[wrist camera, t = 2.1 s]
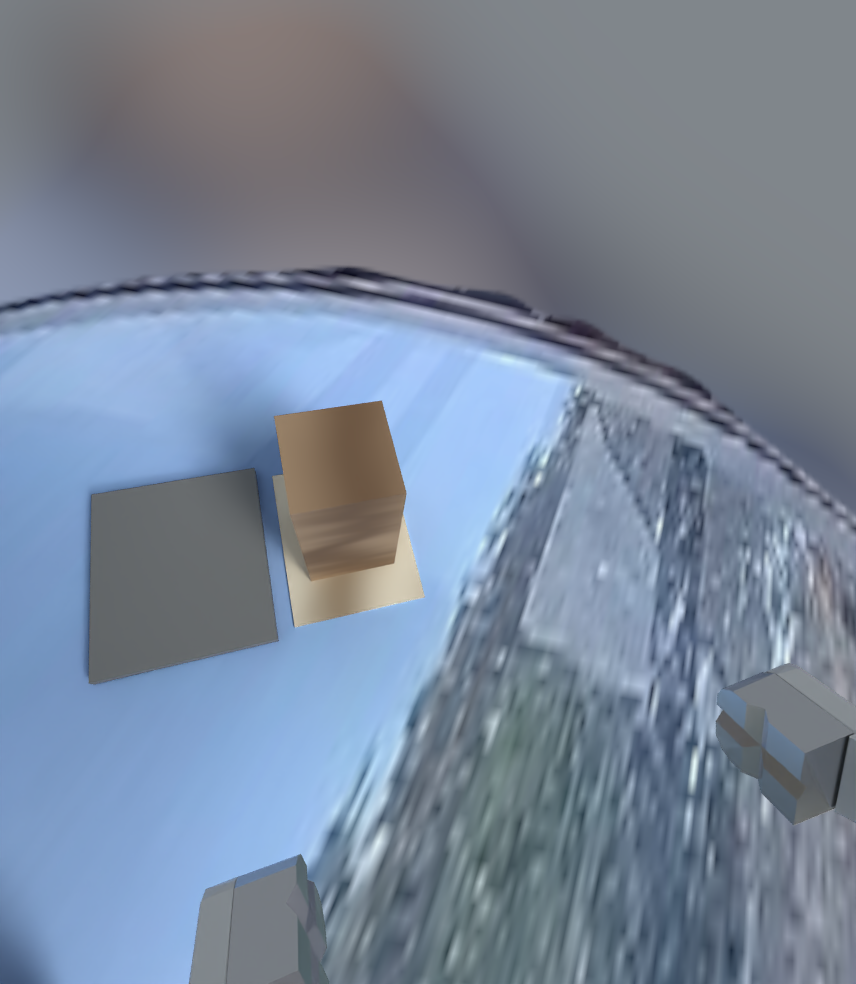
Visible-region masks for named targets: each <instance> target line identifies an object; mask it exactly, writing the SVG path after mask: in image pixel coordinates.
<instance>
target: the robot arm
mask: <svg viewBox="0 0 856 984" xmlns="http://www.w3.org/2000/svg"><path fill="white" fill-rule="evenodd" d="M717 705H718V706H719V707H720V708H721V709H722V710H723V711H722V712H721V714H720V715H719V717H718V719H717V720H716V736H717V738H718V741H719V743H720V745H721V748H722V750H723V751H724V752H725V754H726V755H727V757H728V758H729V760H730V761H731V762H732V763H733V764H734V765H735V766H736V767H737V768H738V769H739V770H740V771H741V772H743V773H745V774H748V775H750V776H752V777H755V778H757V779H758V782H759V786H760V790H761V793H762V794H763V795H764V796H765V797H766V798H767V799H768V800H769V801H770V802H771V803H772V804H773V805H774V806H775V807H776V808H777V809H778V810H779V811H780V812H781V813H782V814H783V815H784V816H785V817H786V818H787V819H788V820H789V821H790V822H791V823H792V824H793V825H796V824H799V823H801V822H803V821H806V820H808V819H811V818H813V817H815V816H818V815H820V814H823V813H825V812H828V811H830V810H832V809H835V812H836V813H838V814H840V815H842V816H844V817H846V818H848V819H850V820H851V821H853V822H855V823H856V706H854V705H853V704H851V703H850V702H849V701H847V700H846V699H844V698H843V697H842V696H840V695H839V694H837V693H836V692H834V691H833V690H832V689H830V688H829V687H827V686H826V685H824V684H823V683H822V682H820V681H819V680H817V679H816V678H814V677H813V676H812V675H810V674H809V673H807V672H806V671H804V670H803V669H802V668H800V667H798V666H796V665H793V664H790V663H788V664H784V665H781V666H779V667H776V668H774V669H772V670H769V671H767V672H762V673H759V674H757V675H754V676H752V677H750V678H747V679H745V680H742V681H740V682H737V683H735V684H733V685H730V686H728V687H725V688H723V689H721V691H720V692H719V693H718V695H717ZM326 948H327V943H326V931H325V922H324V916H323V910H322V904H321V901H320V897H319V894H318V891H317V888H316V886H315V884H314V882H312V881H309V880H307V865H306V863H305V861H304V859H303V857H302V855H301V854H299V855H296V856H294V857H291V858H288V859H285V860H283V861H280V862H277V863H275V864H272V865H269V866H267V867H264V868H261V869H258V870H256V871H253V872H250V873H248V874H245V875H242V876H240V877H236V878H233V879H231V880H228V881H226V882H223V883H221V884H218V885H215V886H213V887H210V888H208V889H206V890H205V892H204V895H203V898H202V900H201V903H200V909H199V916H198V923H197V930H196V937H195V944H194V952H193V959H192V966H191V973H190V980H189V984H329V980H328V978H327V976H326V973H325V971H324V969H323V967H322V965H321V960H322V958H323V955H324V953H325V951H326Z"/></svg>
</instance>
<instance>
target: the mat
mask: <svg viewBox="0 0 856 984" xmlns="http://www.w3.org/2000/svg"><path fill="white" fill-rule="evenodd" d="M276 641H278V634H277V627H276V619H275V612H274V604H273V597H272V589H271V582H270V575H269V567H268V560H267V552H266V545H265V538H264V530H263V523H262V515H261V508H260V500H259V493H258V486H257V478H256V472H255V469H254V468H251V469H245V470H239V471H233V472H226V473H220V474H214V475H208V476H202V477H196V478H190V479H184V480H178V481H172V482H165V483H159V484H153V485H147V486H141V487H135V488H129V489H123V490H117V491H111V492H104V493H98V494H92V495H91V560H90V627H89V684H98V683H102V682H106V681H111V680H115V679H119V678H123V677H128V676H132V675H136V674H140V673H145V672H149V671H153V670H157V669H162V668H166V667H170V666H174V665H178V664H183V663H187V662H191V661H195V660H200V659H204V658H208V657H212V656H217V655H221V654H225V653H229V652H234V651H238V650H242V649H246V648H251V647H255V646H259V645H263V644H268V643H272V642H276Z"/></svg>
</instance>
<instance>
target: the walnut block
mask: <svg viewBox="0 0 856 984" xmlns="http://www.w3.org/2000/svg"><path fill="white" fill-rule="evenodd" d="M274 419H275V425H276V431H277V437H278V444H279V450H280V456H281V462H282V469H283V475H284V481H285V487H286V494H287V500H288V506H289V513H290V517H291V520H292V523H293V526H294V529H295V532H296V536H297V539H298V542H299V545H300V548H301V551H302V554H303V557H304V560H305V564H306V567H307V570H308V573H309V576H310V579H311V581H315V580H320V579H325V578H329V577H334V576H339V575H343V574H348V573H353V572H357V571H362V570H367V569H371V568H376V567H381V566H385V565H390V564H394V562H395V556H396V551H397V545H398V539H399V533H400V528H401V522H402V516H403V510H404V505H405V499H406V490H405V486H404V482H403V478H402V475H401V471H400V467H399V463H398V460H397V456H396V452H395V448H394V445H393V441H392V437H391V433H390V430H389V426H388V422H387V418H386V415H385V411H384V407H383V404H382V401H376V402H369V403H362V404H355V405H348V406H341V407H334V408H327V409H321V410H314V411H307V412H300V413H293V414H286V415H279V416H274Z"/></svg>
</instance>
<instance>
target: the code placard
mask: <svg viewBox="0 0 856 984" xmlns="http://www.w3.org/2000/svg"><path fill="white" fill-rule="evenodd" d="M272 478H273V485H274V492H275V498H276V505H277V512H278V518H279V525H280V532H281V539H282V545H283V552H284V559H285V565H286V572H287V579H288V585H289V592H290V599H291V606H292V612H293V619H294V626H295V627H299V626H303V625H307V624H312V623H316V622H320V621H325V620H329V619H333V618H338V617H342V616H346V615H350V614H355V613H359V612H363V611H368V610H372V609H376V608H381V607H385V606H389V605H394V604H398V603H402V602H407V601H411V600H415V599H419V598H424V597H425V596H424V592H423V588H422V585H421V581H420V577H419V573H418V569H417V565H416V561H415V558H414V554H413V550H412V546H411V542H410V538H409V534H408V531H407V527H406V523H405V519H404V515H403V516H402V522H401V528H400V533H399V539H398V545H397V551H396V556H395V562H394V564H390V565H385V566H381V567H376V568H371V569H367V570H362V571H357V572H353V573H348V574H343V575H339V576H334V577H329V578H325V579H320V580H315V581H311V579H310V576H309V573H308V570H307V567H306V564H305V560H304V557H303V554H302V551H301V548H300V545H299V542H298V539H297V536H296V532H295V529H294V526H293V523H292V520H291V517H290V513H289V506H288V500H287V494H286V487H285V481H284V475H283V474H282V475H276V476H272Z"/></svg>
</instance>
